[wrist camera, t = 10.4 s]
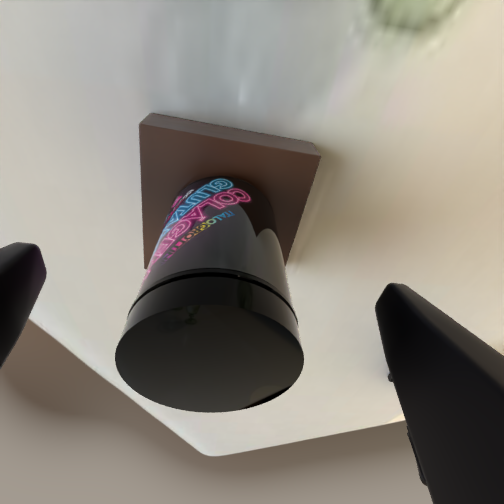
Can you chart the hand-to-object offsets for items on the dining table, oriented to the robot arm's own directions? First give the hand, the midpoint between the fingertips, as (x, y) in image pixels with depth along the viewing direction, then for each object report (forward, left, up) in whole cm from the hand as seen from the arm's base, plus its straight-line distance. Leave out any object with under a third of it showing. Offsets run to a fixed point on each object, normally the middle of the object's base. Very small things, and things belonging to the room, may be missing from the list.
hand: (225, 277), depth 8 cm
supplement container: (-5, 0, -11) cm, 12 cm away
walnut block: (-5, 0, -13) cm, 14 cm away
